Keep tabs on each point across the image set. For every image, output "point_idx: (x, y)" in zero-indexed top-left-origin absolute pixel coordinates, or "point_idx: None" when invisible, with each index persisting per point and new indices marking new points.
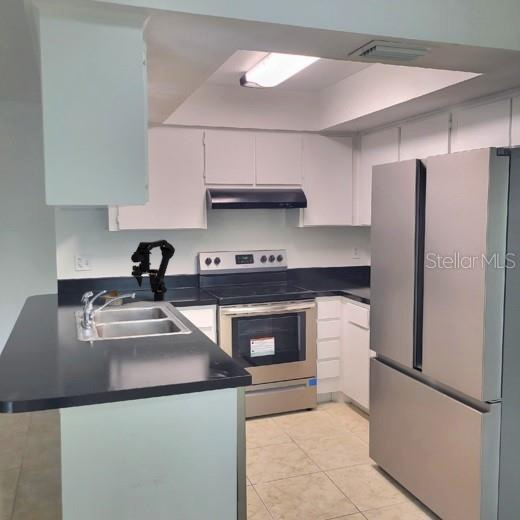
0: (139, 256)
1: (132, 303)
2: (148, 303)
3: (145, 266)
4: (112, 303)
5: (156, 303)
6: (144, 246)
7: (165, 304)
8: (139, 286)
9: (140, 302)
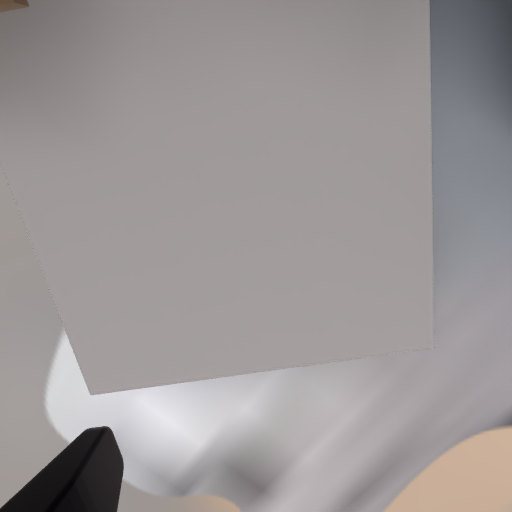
0: None
1: (146, 48)
2: (329, 238)
3: None
4: None
5: (401, 314)
6: None
7: (482, 359)
8: (86, 436)
9: (304, 59)
